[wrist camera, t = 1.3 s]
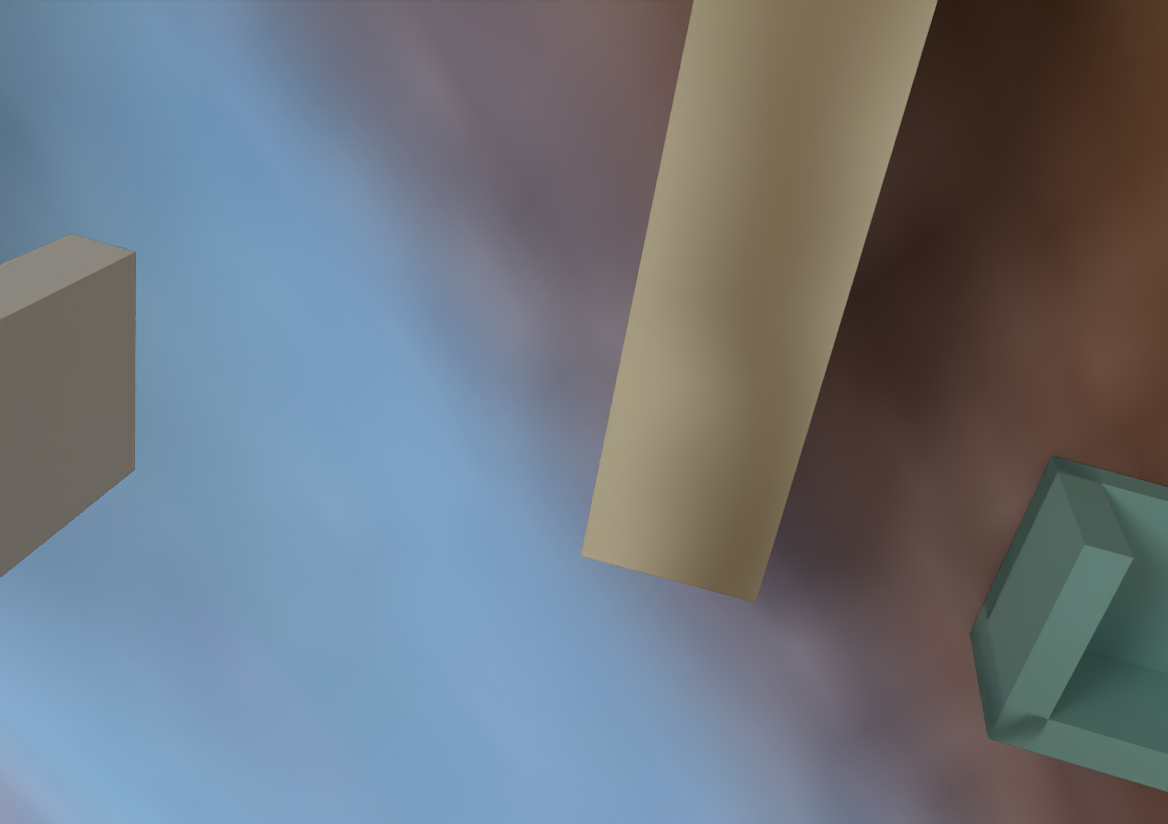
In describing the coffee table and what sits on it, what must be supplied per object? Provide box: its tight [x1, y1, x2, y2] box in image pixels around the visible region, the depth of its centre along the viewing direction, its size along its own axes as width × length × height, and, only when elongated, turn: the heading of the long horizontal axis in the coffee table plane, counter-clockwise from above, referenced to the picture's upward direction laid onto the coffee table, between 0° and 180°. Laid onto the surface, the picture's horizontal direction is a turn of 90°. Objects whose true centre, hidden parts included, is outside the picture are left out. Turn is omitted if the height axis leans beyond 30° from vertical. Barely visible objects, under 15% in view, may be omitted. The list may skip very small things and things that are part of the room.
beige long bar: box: [581, 0, 938, 603], centre depth 23 cm, size 4×16×5 cm, turn 170°
